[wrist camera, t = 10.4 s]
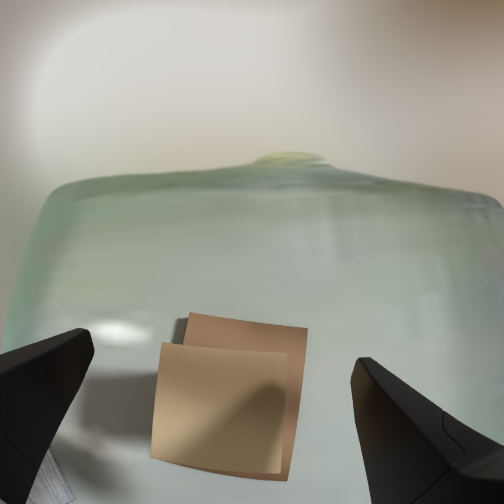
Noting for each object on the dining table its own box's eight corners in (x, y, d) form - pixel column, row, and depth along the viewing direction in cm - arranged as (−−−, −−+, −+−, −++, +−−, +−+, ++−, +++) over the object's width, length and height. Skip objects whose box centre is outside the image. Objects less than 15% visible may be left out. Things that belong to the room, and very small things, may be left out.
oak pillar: (267, 438, 16) (280, 473, 8) (196, 432, 16) (150, 457, 8) (271, 372, 19) (287, 352, 10) (202, 367, 19) (162, 342, 11)
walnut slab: (284, 474, 16) (287, 481, 14) (170, 455, 17) (162, 460, 15) (303, 333, 22) (307, 328, 20) (194, 319, 23) (189, 312, 21)
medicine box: (20, 435, 15) (-42, 430, 8) (44, 428, 16) (-22, 423, 9) (52, 504, 12) (-5, 518, 4) (79, 501, 13) (21, 522, 5)
